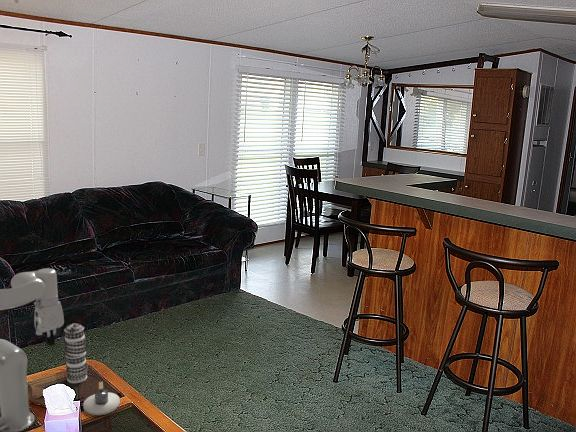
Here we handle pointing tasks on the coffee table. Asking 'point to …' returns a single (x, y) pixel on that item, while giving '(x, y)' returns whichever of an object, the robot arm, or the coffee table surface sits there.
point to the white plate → (103, 409)
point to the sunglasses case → (35, 395)
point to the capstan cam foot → (101, 395)
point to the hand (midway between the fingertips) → (50, 344)
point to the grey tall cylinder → (75, 353)
